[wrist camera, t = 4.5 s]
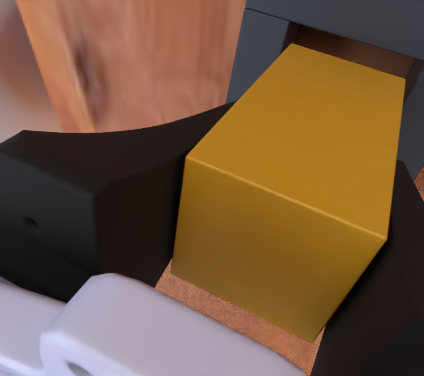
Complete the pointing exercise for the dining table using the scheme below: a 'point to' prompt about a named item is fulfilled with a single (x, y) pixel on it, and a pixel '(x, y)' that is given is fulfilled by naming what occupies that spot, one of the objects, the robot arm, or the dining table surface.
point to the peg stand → (346, 27)
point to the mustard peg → (292, 190)
